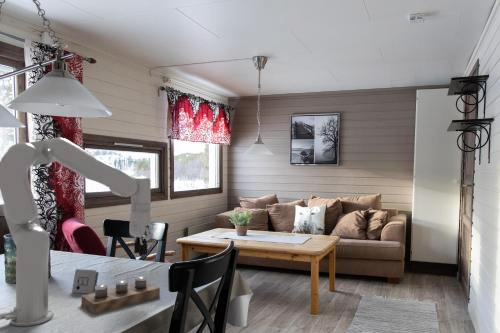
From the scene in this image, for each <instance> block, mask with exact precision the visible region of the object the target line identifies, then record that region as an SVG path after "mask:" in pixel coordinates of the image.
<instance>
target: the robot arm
mask: <svg viewBox="0 0 500 333" xmlns="http://www.w3.org/2000/svg"><path fill="white" fill-rule="evenodd" d="M55 162H57V163H59V164H60V165H62V166H63V167H64V168H65V167H66V169H68V170H70V171H73V173H76V174H77V175H79V176H81V177H82V178H85V179H87V180H90V181H93V182H96V183H99V184H101V185H103V186H105V187H107V188H108V189H109V191H110V192H111V193H112V194H113V195H115V196H119V197H123V198H124V197H125V198H128V197H130V216H129V228H128V229H129V235H130V236H132V238H133V243H134V245H133V247H134V250H133V252H134V254H139V255H140V256H142V255H143V256H144V255H147V254H148V244H149V241H150V239H151V235H152V217H151V203H152V202H151V187H152V184H151V182H152V180H151V178H150V177H148V176H135V177H132V176H130V175H129V174H127V173H125V172H123V171H122V170H120V169H118V168H117V167H115V166H113V165H111V164H109V163H107V162H106V161H104V160H102V159H101V158H99V157H96V156H95V155H93V154H91V153H89V152H88V151H87V150H85V149H83V148H82V147H80V146H78V144H76V143H74V142H72V141H71V140H69V139H66V138H65V137H64V138H63V137H55V138H50V139H45V140H39V141H29V142H24V141H23V142H18V143H15V144H12V145H11V146H10V147H9V148H8V149H7V151H6V153H5V154H4V155H3V156H2V157H1V159H0V194H1V197H2V200H3V208H2V212H3V215H4V219H5V220H6V224H7V227H8V229H9V233H10V235H11V238H12V241H13V243H14V245H15V246H16V260H15V290H16V291H15V294H16V295H15V306H14V307H13V309H11V310H9V311H8V312H1V313H0V321H2V320H5V321H9V320H10V324H12V325H13V326H17V327H30V326H35V325H39V324H40V325H41V324H42V323H46V322H48V321H49V320H51V319H52V318H53V317H54V312H53V310H52V309H49V253H50V241H51V240H50V237H49V234H48V232H47V231H46V230H45V229H44V228H43V227H42V226H41V224H40V220H39V218H38V212H39V211H38V210H39V208H38V204H37V202H36V200H35V198H34V194H33V191H32V188H31V185H30V182H29V176H28V175H29V170H30V168H31V167H33V166H39V165H44V164H51V163H55Z"/></svg>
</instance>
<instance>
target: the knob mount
mask: <svg viewBox="0 0 500 333" xmlns="http://www.w3.org/2000/svg"><path fill="white" fill-rule="evenodd" d="M160 289H161V288H160V287H158V286H156V285H155V284H152V283H149V282H148V281H146V288H143V289H136V288H135V283H132V284H128V292H126V293H122V294H118V293H116V287H114V288H108V289H107V297H106V298H101V299H97V298H95V292H93V293H91V294H88V293H86V294H83V295H81V297H80V298H81V304H80V305H81V306H82V307H83V308H84V309H87V310H88V311H89V312H91V313H92V314H93V315H96V313H97V314H101V313H104V312H106V311H107V312H108V311H111V310H115V309H119V308H122V307H126V306H130V305H133V304H138V303H141V302H145V301H149V300H153V299H156V298H160V295H161V291H160Z"/></svg>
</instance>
